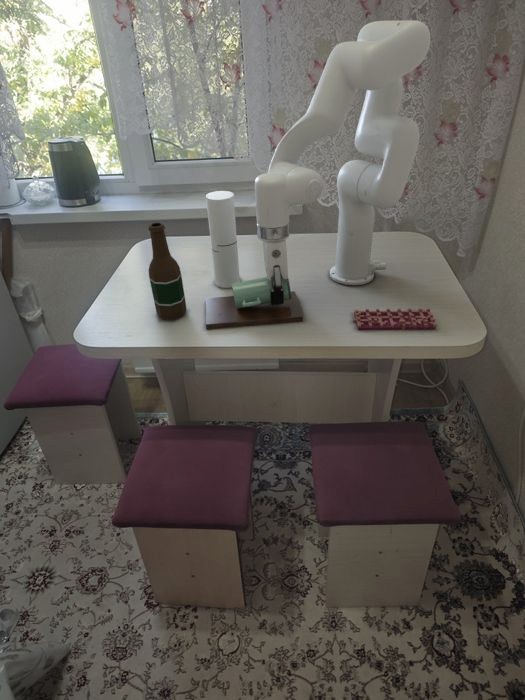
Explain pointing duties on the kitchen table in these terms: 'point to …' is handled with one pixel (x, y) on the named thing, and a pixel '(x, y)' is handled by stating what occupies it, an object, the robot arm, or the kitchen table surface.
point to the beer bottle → (165, 277)
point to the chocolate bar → (395, 319)
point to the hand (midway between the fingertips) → (275, 296)
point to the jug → (256, 292)
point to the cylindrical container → (223, 237)
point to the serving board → (250, 313)
